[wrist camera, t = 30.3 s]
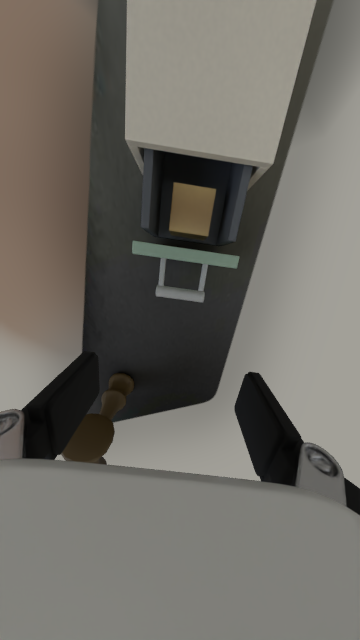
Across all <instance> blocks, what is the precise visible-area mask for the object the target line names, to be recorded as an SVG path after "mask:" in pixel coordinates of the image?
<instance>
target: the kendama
mask: <svg viewBox="0 0 360 640" xmlns="http://www.w3.org/2000/svg"><path fill="white" fill-rule="evenodd" d="M133 388H134V381H133V379H132V378H131V377H130V376H129V375H126V374H123V373H117V374H114V375H113V376H111V378H110V380H109V389H108V390H107V391H105V392H104V393H103V395H102V408H101V411H100V414H87V415H85V417H84V418H83V420H82V422H81V423H80V425H79V426H78V428H77V430H76V431H75V433H74V435H73V436H72V438H71V439H70V441H69V443H68V444H67V446H66V447H65V449H64V451H63V452H62V453H61V455H62V456H63V457H64V459H65V460H66V461H73V462H84V463H94V464H104V465H107V464H106V461H105V459H104V458H103V457H102V456H103V455H104V454H105V453H106V452H107V450H108V448H109V447H110V445H111V443H112V441H113V437H114V427H113V422H112V421H111V420H112V418H113V417H114V415H115V414H116V413H117V411H118V410H121V409H122V408H123V407H124V406H125V404H126V396H127V395H128V394H129V393H131V392H132V390H133Z"/></svg>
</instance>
